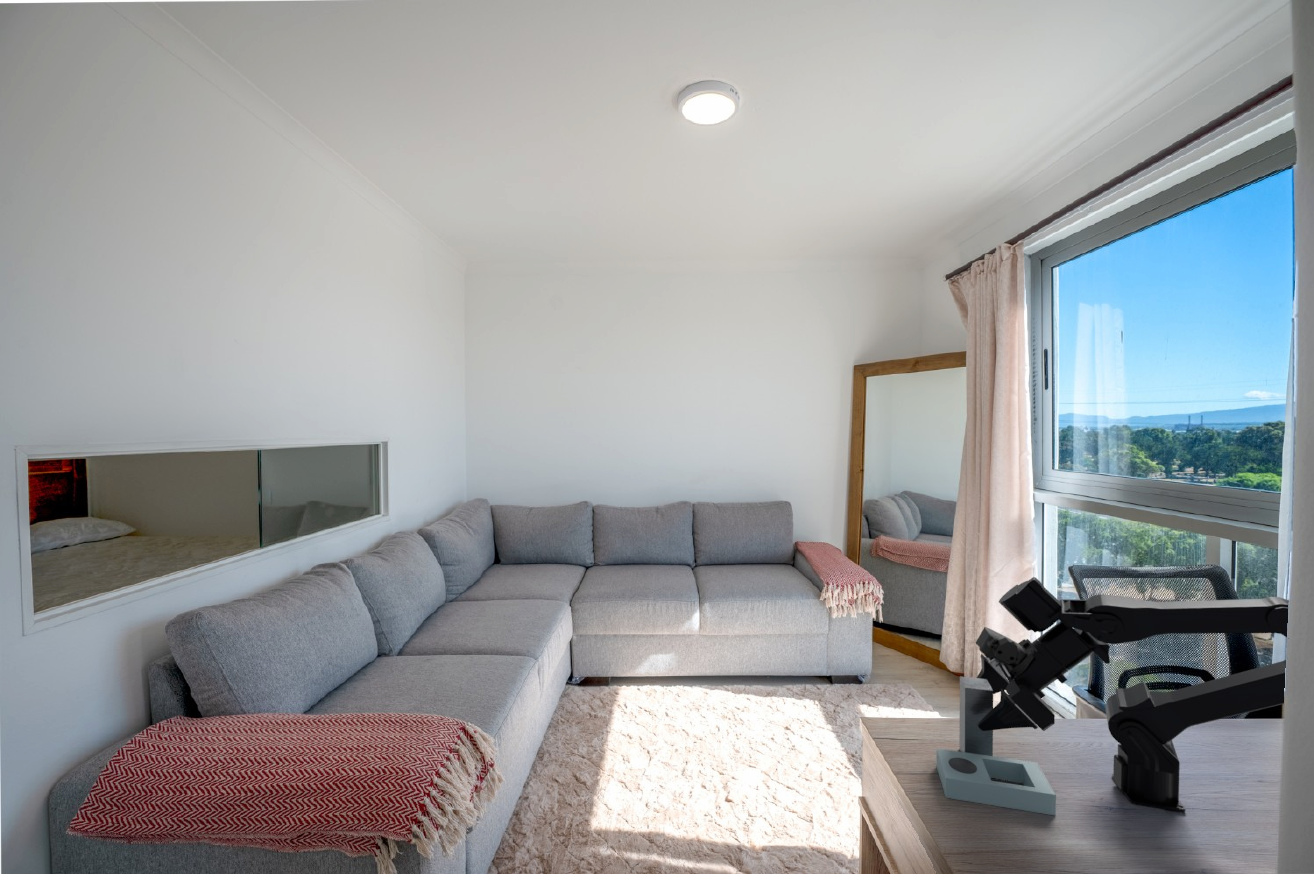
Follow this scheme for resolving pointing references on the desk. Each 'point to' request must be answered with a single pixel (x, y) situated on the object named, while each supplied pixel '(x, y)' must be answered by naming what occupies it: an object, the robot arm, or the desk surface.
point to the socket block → (972, 782)
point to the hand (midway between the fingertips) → (972, 712)
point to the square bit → (975, 716)
